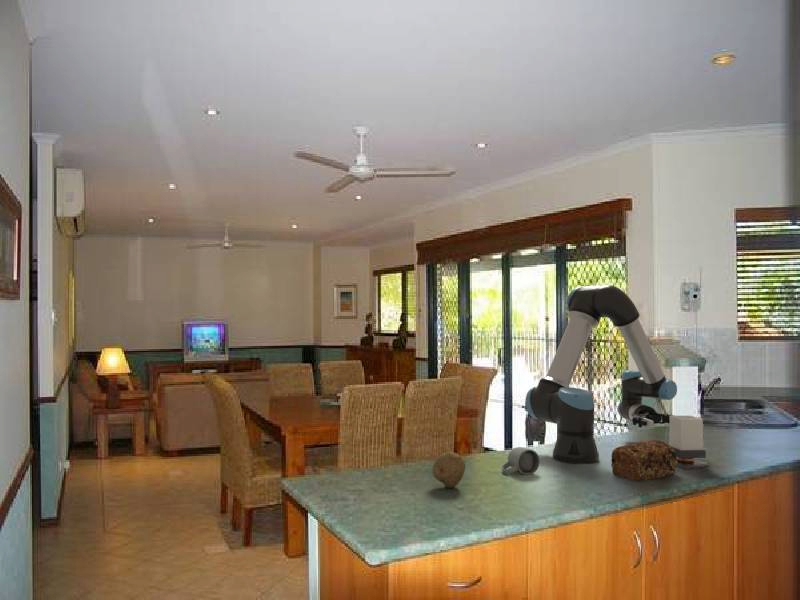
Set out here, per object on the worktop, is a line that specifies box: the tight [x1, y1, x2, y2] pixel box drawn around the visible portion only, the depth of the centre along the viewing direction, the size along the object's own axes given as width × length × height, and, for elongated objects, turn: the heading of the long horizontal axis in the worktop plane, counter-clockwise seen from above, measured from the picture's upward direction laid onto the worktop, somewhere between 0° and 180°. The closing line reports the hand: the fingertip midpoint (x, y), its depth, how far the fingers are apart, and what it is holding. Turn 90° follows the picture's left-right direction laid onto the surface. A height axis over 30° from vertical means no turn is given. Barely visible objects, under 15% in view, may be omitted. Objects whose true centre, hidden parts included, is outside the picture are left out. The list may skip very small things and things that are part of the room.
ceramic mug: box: [501, 446, 540, 476], centre depth 209 cm, size 11×8×8 cm
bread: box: [610, 439, 677, 483], centre depth 207 cm, size 19×11×10 cm, turn 121°
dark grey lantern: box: [676, 457, 710, 470], centre depth 222 cm, size 10×10×12 cm
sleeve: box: [668, 415, 704, 450], centre depth 222 cm, size 7×7×10 cm
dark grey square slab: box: [670, 446, 707, 459], centre depth 222 cm, size 9×9×2 cm
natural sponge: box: [432, 451, 466, 489], centre depth 190 cm, size 9×9×10 cm
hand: (671, 424), depth 230 cm, fingers open, 13 cm apart
